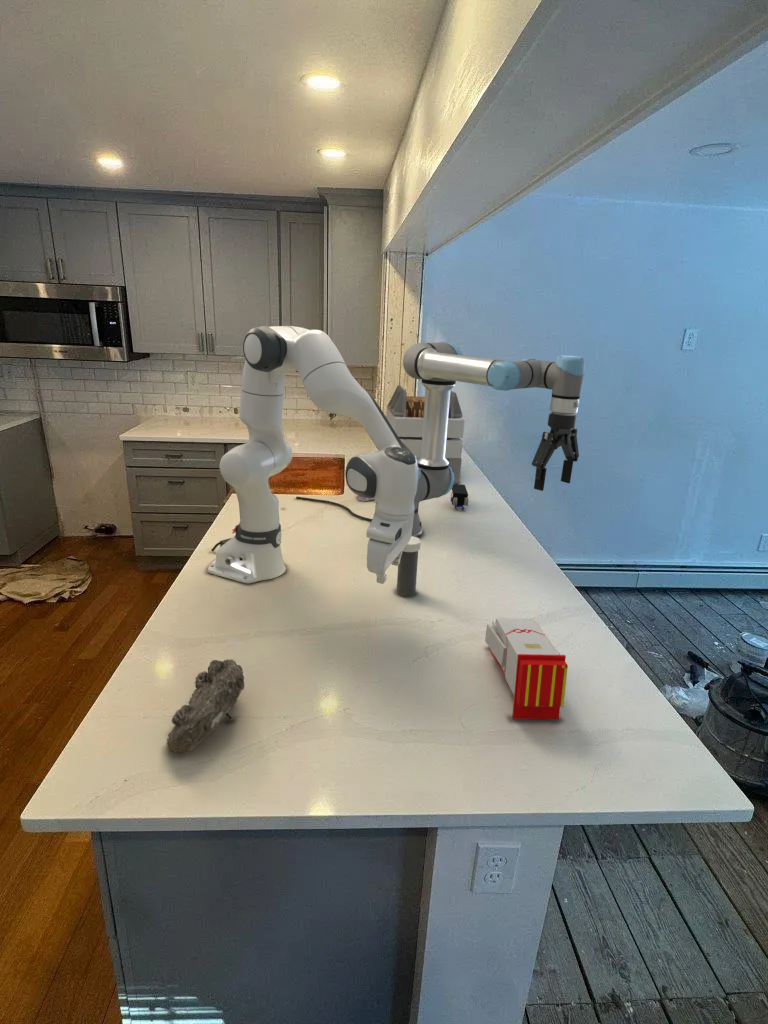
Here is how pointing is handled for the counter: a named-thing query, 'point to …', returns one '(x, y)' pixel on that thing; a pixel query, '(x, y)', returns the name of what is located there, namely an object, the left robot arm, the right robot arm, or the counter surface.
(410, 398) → the grey slatted crate
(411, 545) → the lid
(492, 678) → the counter surface
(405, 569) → the dark grey tall cylinder
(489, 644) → the toy
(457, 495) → the figurine character
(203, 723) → the fossil
